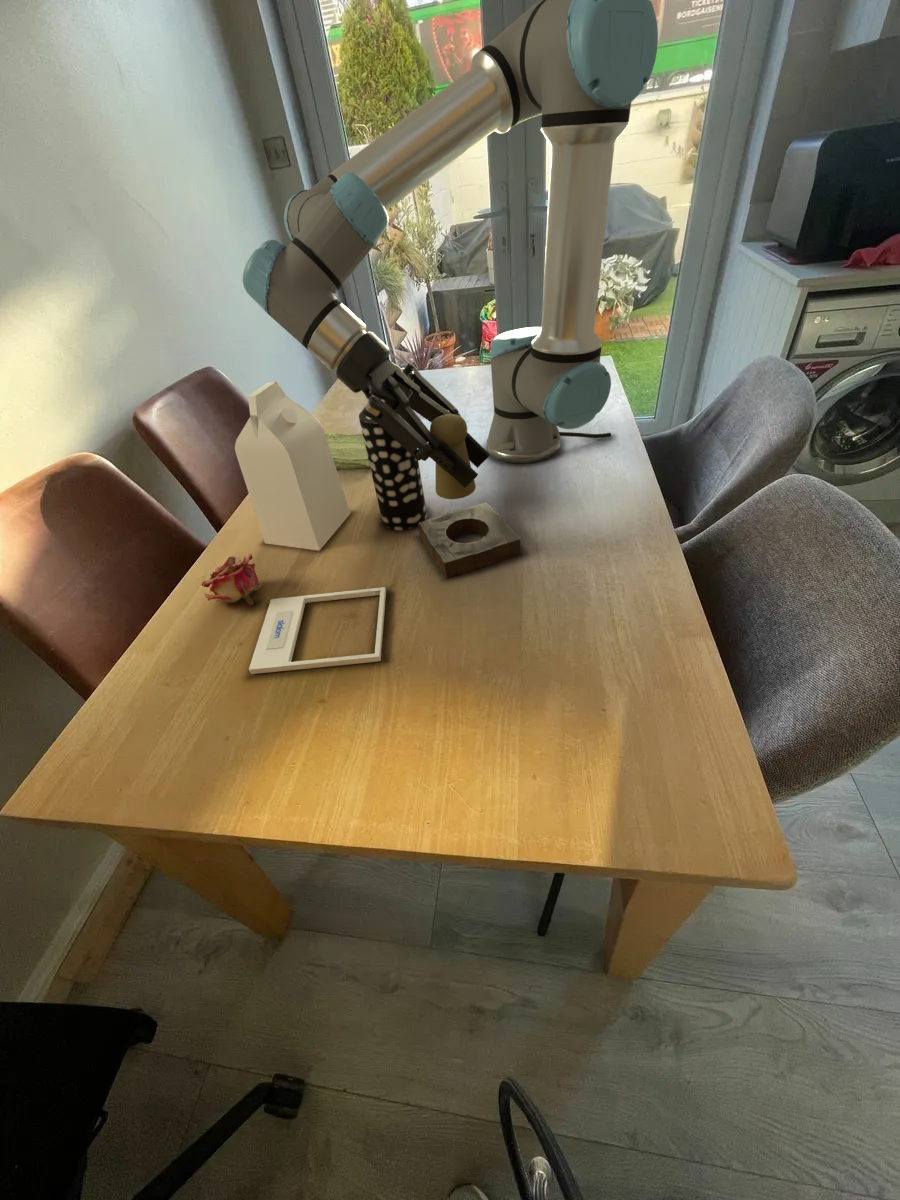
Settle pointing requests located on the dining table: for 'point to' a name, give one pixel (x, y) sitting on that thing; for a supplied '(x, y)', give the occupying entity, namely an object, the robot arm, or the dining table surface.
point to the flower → (233, 580)
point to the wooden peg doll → (453, 434)
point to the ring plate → (469, 555)
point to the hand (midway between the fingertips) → (477, 470)
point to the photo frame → (284, 629)
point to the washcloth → (348, 450)
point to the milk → (289, 472)
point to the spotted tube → (393, 478)
